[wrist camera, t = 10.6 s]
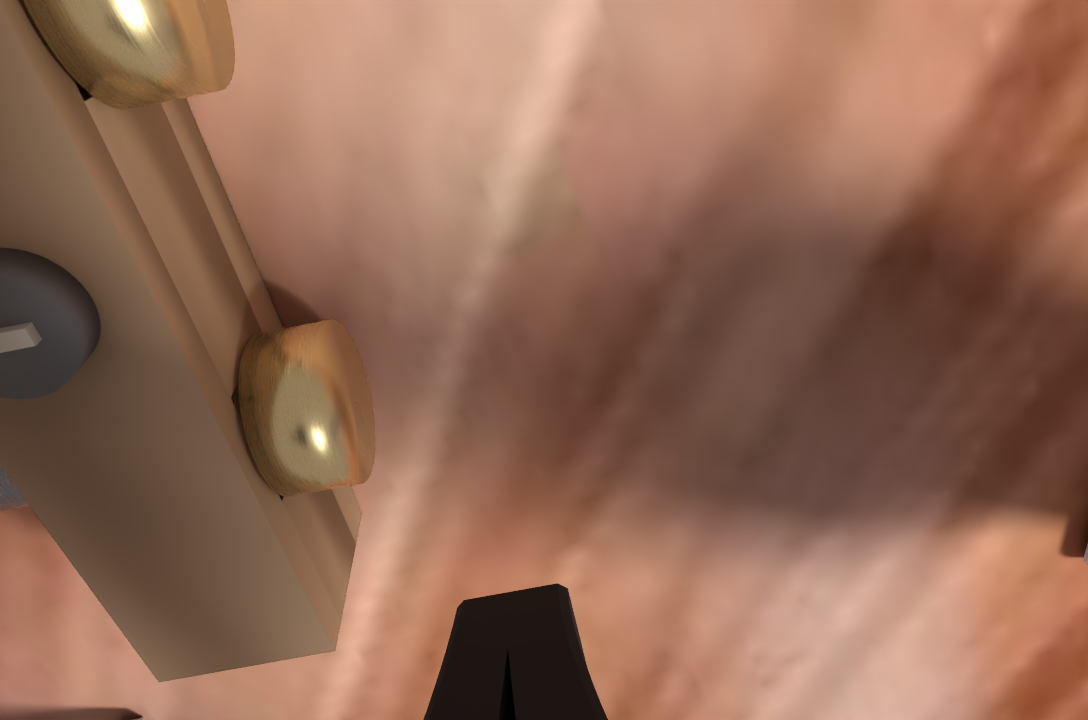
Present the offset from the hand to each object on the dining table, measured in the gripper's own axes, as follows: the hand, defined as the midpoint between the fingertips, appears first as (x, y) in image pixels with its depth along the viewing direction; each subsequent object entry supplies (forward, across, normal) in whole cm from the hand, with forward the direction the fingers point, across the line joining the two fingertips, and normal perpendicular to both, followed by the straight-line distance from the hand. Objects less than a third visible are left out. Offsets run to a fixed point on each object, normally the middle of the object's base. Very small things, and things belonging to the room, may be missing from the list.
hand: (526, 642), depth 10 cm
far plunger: (+8, +7, 0) cm, 11 cm away
